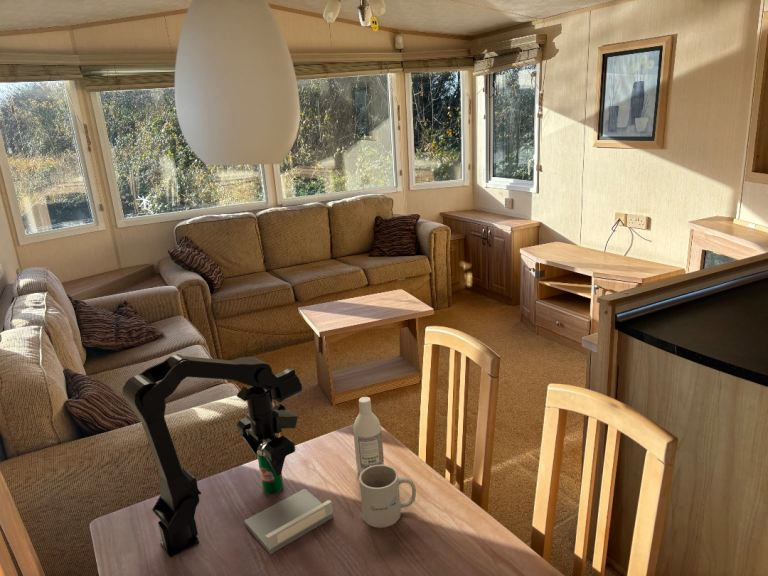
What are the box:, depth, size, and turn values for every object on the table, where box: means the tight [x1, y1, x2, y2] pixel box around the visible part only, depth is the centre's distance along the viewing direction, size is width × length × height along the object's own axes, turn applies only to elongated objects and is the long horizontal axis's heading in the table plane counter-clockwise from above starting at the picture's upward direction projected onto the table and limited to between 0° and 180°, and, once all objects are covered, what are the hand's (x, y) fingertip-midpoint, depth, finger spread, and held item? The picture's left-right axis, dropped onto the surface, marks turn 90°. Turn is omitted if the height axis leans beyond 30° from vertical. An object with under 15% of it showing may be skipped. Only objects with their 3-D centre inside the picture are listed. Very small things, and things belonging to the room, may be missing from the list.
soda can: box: [256, 441, 284, 495], centre depth 135 cm, size 5×5×12 cm
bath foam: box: [352, 396, 385, 475], centre depth 138 cm, size 7×7×20 cm
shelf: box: [243, 488, 334, 555], centre depth 124 cm, size 16×12×4 cm
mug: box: [358, 464, 417, 528], centre depth 124 cm, size 12×9×10 cm
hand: (269, 466), depth 135 cm, fingers open, 9 cm apart
